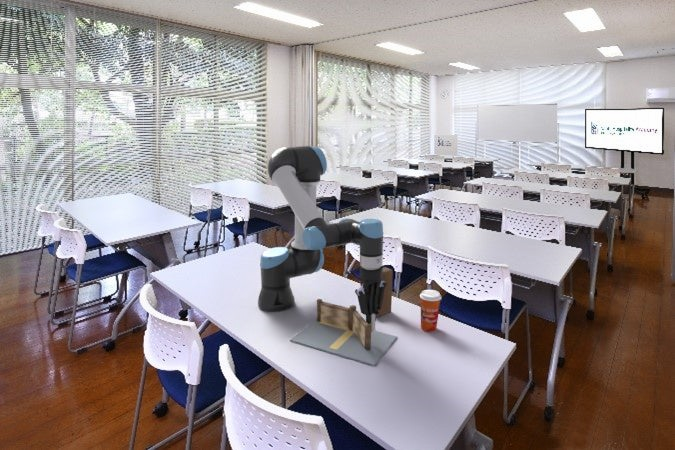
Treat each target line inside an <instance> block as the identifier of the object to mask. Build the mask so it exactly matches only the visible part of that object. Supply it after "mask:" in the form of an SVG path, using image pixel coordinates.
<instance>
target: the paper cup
mask: <svg viewBox="0 0 675 450" xmlns="http://www.w3.org/2000/svg"><path fill="white" fill-rule="evenodd" d="M419 297H420V329H421V330H422V331H424V332H427V333H433V332H436V331H437V328H438V327H437V326H438V320H439V315H440V314H439V313H440V312H439V311H440V303H441V300H442V295H441V294H440V292H439V291H438V290H435V289H425V290H422V291H421V292H420V294H419Z"/></svg>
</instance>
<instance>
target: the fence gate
mask: <svg viewBox="0 0 675 450" xmlns="http://www.w3.org/2000/svg"><path fill="white" fill-rule="evenodd" d="M353 332H354V333H355V334H356V336H357V337H358V338H359V340H360V341H361V342H362V344H363V345H364V346H365V349H371V325H369V324H368V323H367V322H366V318H364V317H363V316H362V314H361V313H360V312H359V311H358V310H356V311H353Z"/></svg>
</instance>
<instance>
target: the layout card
mask: <svg viewBox="0 0 675 450" xmlns="http://www.w3.org/2000/svg"><path fill="white" fill-rule="evenodd" d="M397 338H398V336H397V335H394V334H393V335H392V334H389V333H385V332H381V331H379V330H378V331H377V330H375V332H374V333H372V332H371V349H365V346H364V345H363V344H362V342H361V341H360V340H359V338H358V337H357V336H356V334H355V333H354V332H353V331H351V330H349V329H346V328H342V327H339V326H335V325H331V324H327V323H323V322H317V318H316V319H314V320H313V321H312V322H310V323H309V324H308V325H307V326H305V327H304V328H302V329H301V330H300V331H299V332H298V333H297V334H295V335H294V336H292V338H290V339H289V342H292V343H294V344H299V345H302V346H305V347H308V348H311V349H315V350H319V351H322V352H325V353H329V354H332V355H335V356H339V357H342V358H346V359H347V360H348V359H349V360H352V361H356V362H359V363H363V364H366V365H368V366H372V367H375V366H376V365H377V364H378V363H379V361H380V360H381V359H382V357H383V356H384V355H385V353H386V352H387V351H388V350H389V349H390V347H391V346H392V344H393V343H394V342H395V341H396V339H397Z"/></svg>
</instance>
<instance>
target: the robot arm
mask: <svg viewBox="0 0 675 450" xmlns="http://www.w3.org/2000/svg"><path fill="white" fill-rule="evenodd" d="M327 168H328V163H327V157H326V155H325V154H324V151H323V150H322V149H321V148H320V147H318V146H315V145H304V146H303V145H300V146H299V145H298V146H284V147H280V148H278V149H276V150H275V151H274V152H273V153H272V154H271V156H270V157H269V159H268V163H267V174H268V176H269V179H270V181H271V182H272V184H273V185H275V186H276V187H278V189H279V190H280V192H281V193H282V195H283V196H284V198H285V201H287V203H288V205H289V207H290V209H291V211H292V212H293V213H294V240H292V241H291V243H290V249H289V248H287V247H284V246H276V247H271V248H269V249H266V250H264V251H263V252H262V253H261V255H260V264H259V265H260V266H259V268H260V281H261V288H260V292H259V295H258V299H257V307H258V308H259V309H260V310H263V311H265V312H271V313H273V312H274V313H276V312H284V311H287V310H290V309H291V308H293V307H294V305H295V296H294V293H293V290H292V288H291V282H290V281H291V280H290V279H292V278H297V277H302V276H306V275H312V274H313V273H314V274H315V273H317V272H319V271H321V270H322V268H323V265H324V262H325V254H324V253H323V252H324V250H323V249H327V248H332V247H338V246H342V245H348V244H355V245H357V246H359V266H360V267H359V277H360V279H361V282H360V286H359V288H358V289H355V290H354V293H355V295H356V296H357V300H358V305H359V309H360V314H361V315H364V316H365V321H366V322H367V323H368V324H369V325H371V332H372V333H374V332H375V331H376V321H377V317H376V314H379V312H378V310H381V306H382V300H383V295H384V289H385V287H386V285H387V283H386V282H384V281H382V279H381V278H382V276H383V268H384V267H383V262H384V261H383V258H384V257H383V255H384V253H383V251H384V226H383V222H382V221H381V220H380V219H378V218H377V219H376V218H365V219H362V220H360V221H358V220H356V219H353V218H342V219H341V220H340V221H338V222H335V223H327V222H326V220H325V219H324V217H323V216H322V213H321V212H320V211H319V210H318V208H317V186H318V184H319V183H320V182H321V176H323V175H325V174H326V171H327ZM377 305H378V306H377Z"/></svg>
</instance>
